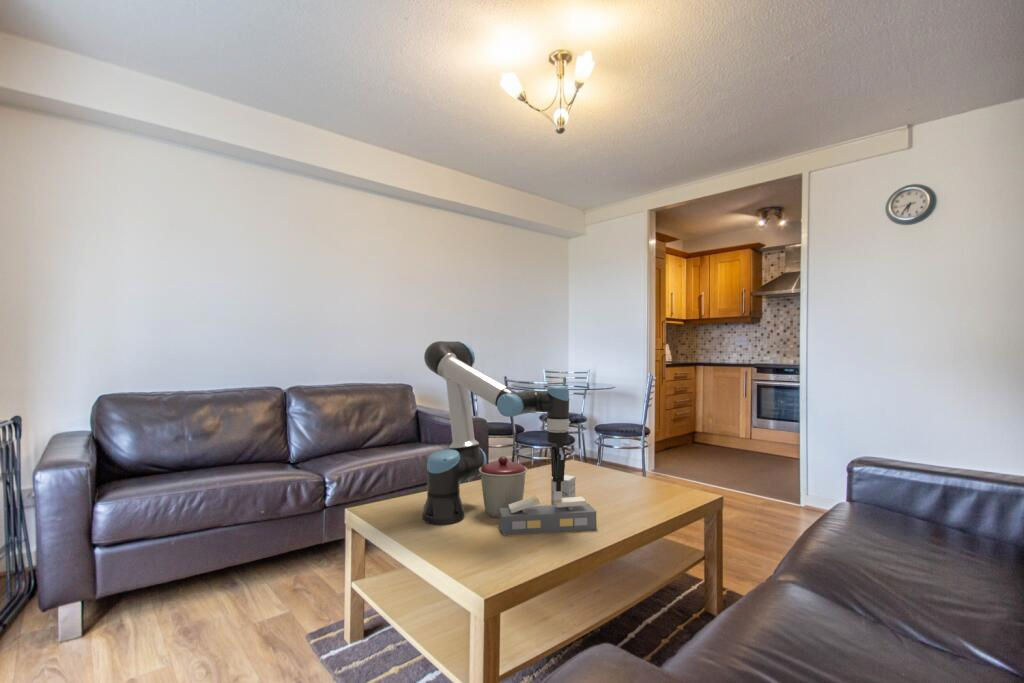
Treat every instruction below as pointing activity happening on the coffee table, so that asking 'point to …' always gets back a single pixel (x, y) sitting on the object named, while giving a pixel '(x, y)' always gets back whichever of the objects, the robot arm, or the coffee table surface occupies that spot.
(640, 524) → the coffee table surface
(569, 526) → the console
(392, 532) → the coffee table surface
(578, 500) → the bar
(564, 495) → the supplement box
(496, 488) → the canister
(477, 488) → the coffee table surface
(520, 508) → the rocker
